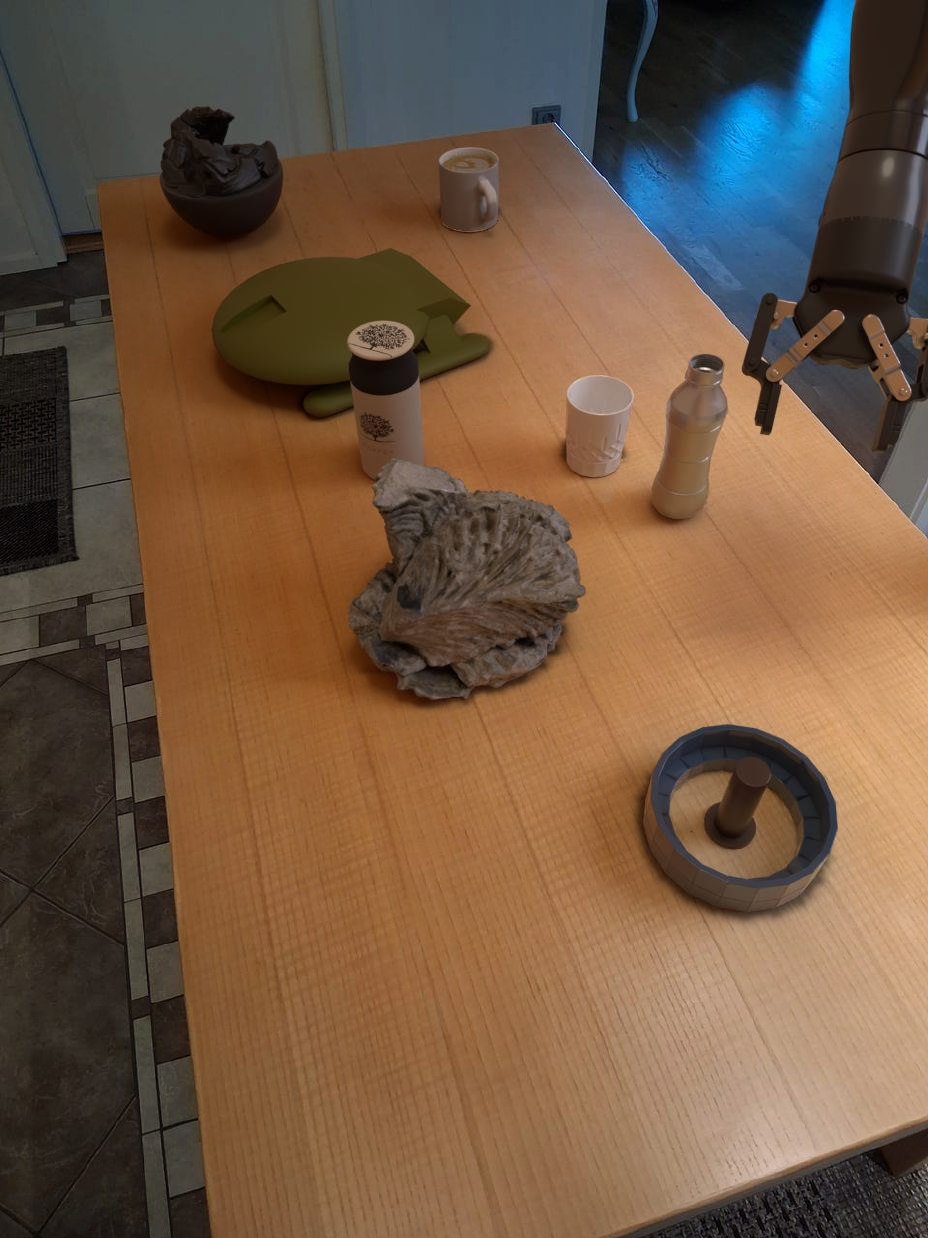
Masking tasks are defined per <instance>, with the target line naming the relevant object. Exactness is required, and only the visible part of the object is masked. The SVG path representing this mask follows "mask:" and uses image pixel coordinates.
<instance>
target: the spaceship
mask: <svg viewBox="0 0 928 1238" xmlns="http://www.w3.org/2000/svg"><path fill="white" fill-rule="evenodd" d="M470 307H472V305H471V304H470V303H469V302H468V301H466V300H465V299H464V298H463V297H461V296H460V295H459V294H458V293H457V292H455V291H454V290H453V289H452V288H450V287H449V286H448V285H447V284H445V283H444V282H443V280H441V279H439V278H438V277H437V276H436V275H435V274H434V273H432V272H431V271H430V270H428V269H427V268H426V267H424V265H422V264H421V263H420V262H419V261H417V260H416V259H415V258H414V257H412V256H411V255H409V254H406V253H403V252H402V251H399V250H397V249H395V248H391V247H390V248H386V249H383V250H380V251H377V252H374V253H370V254H368V255H365V256H362V257H359V258H355V257H347V256H319V257H308V258H302V259H296V260H292V261H287V262H284V263H279V264H277V265H274V266H272V267H268V268H266V269H264V270H261V271H259V272H258V273H256V274H254V275H252V276H250V277H248V278H247V279H245V280H244V281H243V282H241V283H240V284H239V285H237V286H236V287H234V288H233V289H232V290H231V291H230V293H228V295H226V297H224V298H223V300H222V301H221V302H220V304H219V306H218V307H217V309H216V311H215V313H214V317H213V320H212V325H211V329H210V330H211V335H212V342H213V345H214V347H215V349H216V350H217V352H218V354H219V356H220V357H221V358H222V360H223V359H224V361H226V362H227V363H228V364H229V365H230V366H231V367H233V368H234V369H236V370H237V371H240V372H241V373H243V374H245V375H248V376H251V377H254V378H256V379H259V380H261V381H266V382H273V383H276V384H277V383H278V384H283V385H296V386H297V385H298V386H301V385H302V386H315V385H326V386H323V387H320V388H318V389H315V390H313V391H310V392H309V393H308V394H307V395H306V396H305V397H304V398H303V402H302V404H303V408H304V411H306V412H307V413H308V414H309V415H311V416H314V417H317V418H325V417H329V416H332V415H334V414H336V413H340V412H342V411H344V410H346V409H347V410H348V409H350V408H353V407H354V404H353V397H352V389H351V382H350V375H349V367H348V365H349V361H350V359H351V357H352V352H351V351H350V349H349V347H348V344H347V340H348V337H349V335H350V333H351V332H352V331H353V330H354V329H356V328H357V327H359V326H361V325H363V324H366V323H369V322H374V321H393V322H397V323H400V324H403V325H405V326H406V327H408V328H409V329H410V330H411V331H412V333H413V335H414V343H413V346H412V351H413V350H414V349H416V348H417V346H418V345H419V344H420V343H421V344H422V345H423V347H424V349H422V350H420V351H417V352H414V354H415V355H416V357H417V359H418V368H419V382H420V381H422V380H425V379H428V378H431V377H433V376H436V375H438V374H441V373H443V372H446V371H448V370H451V369H453V368H457V367H459V366H461V365H464V364H466V363H467V364H468V363H469V362H472V361H474V360H476V359H479V358H482V357H483V356H486V355H487V354H488V352H489V351H490V350H491V349H490V348H491V343H490V341H489V339H488V338H487V337H486V336H485V335H482V334H480V333H474V332H473V333H472V332H471V333H466V334H463V335H461V336H460V335H459V333H458V331H457V330H456V328H455V324H456V323H457V322H458V321H459V320H460V318H462V316H463V315H464V314H465V313H466V312H467V311H468V309H470Z"/></svg>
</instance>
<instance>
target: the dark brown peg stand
mask: <svg viewBox="0 0 928 1238" xmlns="http://www.w3.org/2000/svg"><path fill="white" fill-rule="evenodd" d="M731 773H732V774H731V776H730V779H729V781H728V783H727V785H726V788H725V790H724V794H723V796H722V798H721V801H719V802H716V803H713V805H711V806H710V807H709V808H708V809H707V811H706V813H705V815H704V817H703V827H704V830H705V833H706V835H707V836H708V838H709V839H710V840H711V841H712V842H713V843H714V844H716V845H718V846H720V847H722V848H724V849H728V850H740V849H744V848H745V847H747V846H748V845H750V844H751V843H752V841H753V840H754V838H755V836H756V833H757V824H756V821H755V818H754V815H755V813H756V811H757V808H758V806H759V804H760V802H761V801H762V798H763V796H764V793H765V792H766V789H767V788H768V787H767V785H768V783H769V781H770V778H771V772H770V769H769V767H768V766H767V764H766V763H765V762H763V761H762V760H760V759H758V758H755V757H745V758H742V759H740V760H739V761H738V762H737V764H736V766H735V768H734V771H733V772H731Z"/></svg>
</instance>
